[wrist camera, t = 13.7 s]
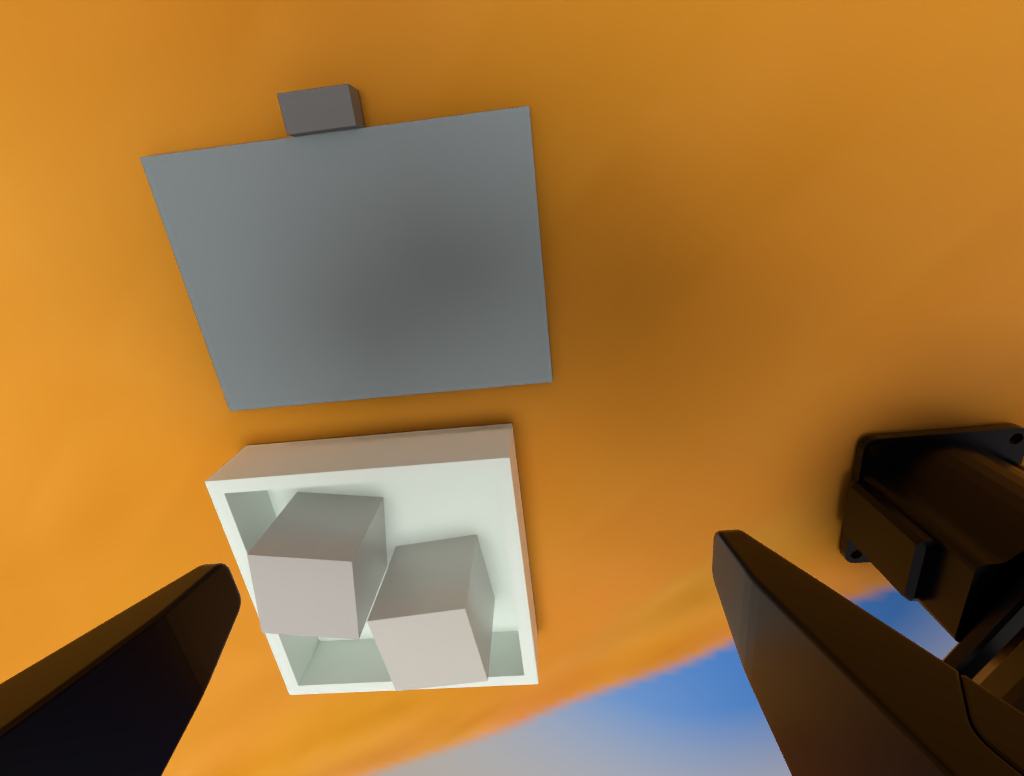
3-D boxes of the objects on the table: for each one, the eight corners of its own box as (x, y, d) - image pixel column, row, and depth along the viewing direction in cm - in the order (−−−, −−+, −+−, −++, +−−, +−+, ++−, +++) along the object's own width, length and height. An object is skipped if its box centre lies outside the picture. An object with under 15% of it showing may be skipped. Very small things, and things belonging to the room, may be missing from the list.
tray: (512, 423, 21) (509, 457, 18) (537, 630, 25) (538, 683, 23) (246, 445, 22) (204, 481, 19) (315, 642, 26) (289, 694, 23)
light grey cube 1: (476, 534, 23) (465, 608, 18) (495, 598, 24) (487, 680, 20) (396, 546, 23) (366, 621, 19) (418, 608, 24) (396, 691, 20)
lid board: (525, 66, 16) (525, 58, 15) (552, 378, 20) (553, 387, 19) (135, 121, 17) (112, 116, 16) (235, 407, 21) (221, 416, 20)
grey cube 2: (383, 497, 22) (351, 561, 18) (387, 566, 23) (359, 639, 20) (297, 491, 22) (247, 554, 18) (306, 561, 24) (262, 632, 20)
